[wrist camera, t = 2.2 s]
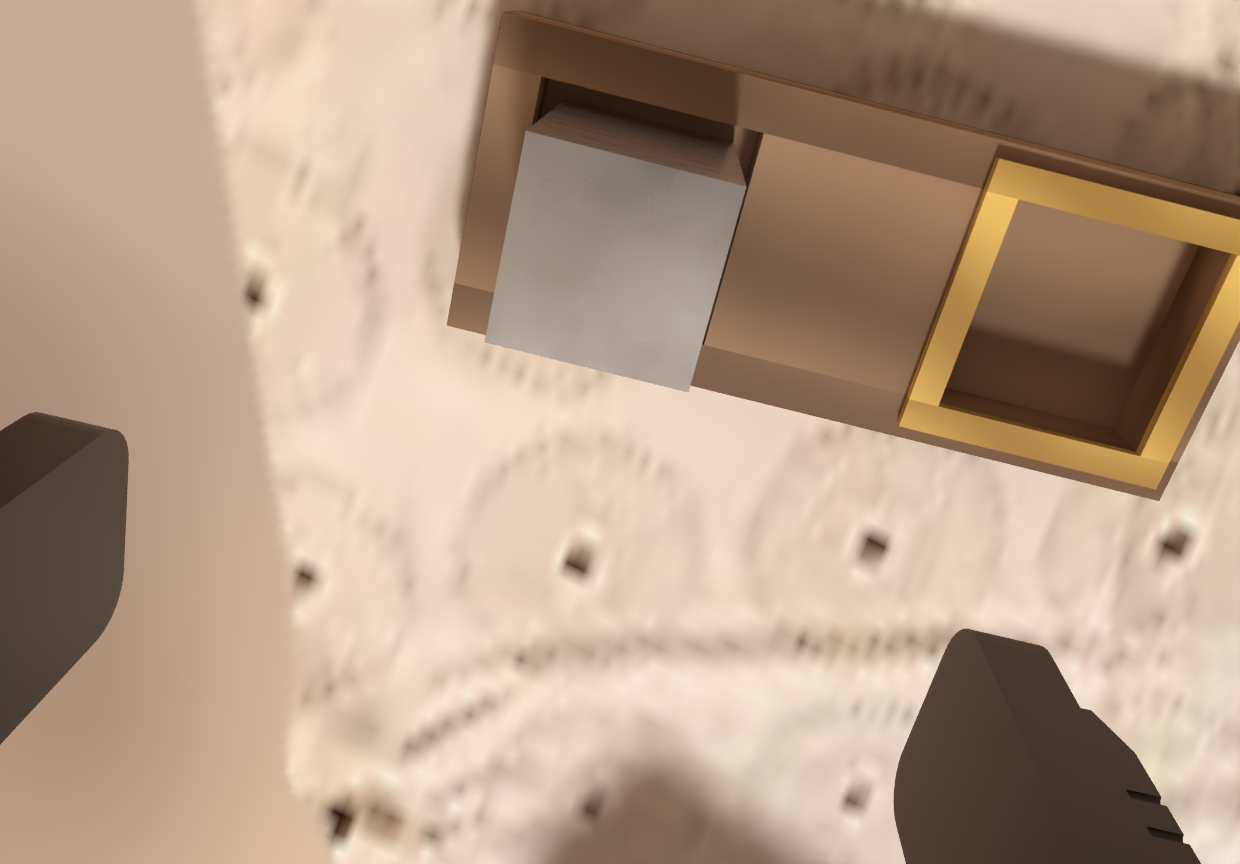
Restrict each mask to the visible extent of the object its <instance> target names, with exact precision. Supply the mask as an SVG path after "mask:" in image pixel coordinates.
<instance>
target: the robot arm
mask: <svg viewBox="0 0 1240 864" xmlns="http://www.w3.org/2000/svg"><path fill="white" fill-rule="evenodd" d="M127 484H128V446H127V443H126V440H125V438H124V436H123V435H122V434H121V433H120V432H119V431H117V430H113V429H109V428H105V427H100V426H96V425H91V424H87V423H83V422H79V421H74V420H70V419H66V418H61V417H57V416H53V415H48V414H44V413H39V412H34V413H30V414H28V415H25V416H24V417H22V418H20V419H19V420H17V421H15V422H14V423H12V424H11V425H9V426H7V427H6V428H4V429H3V430H1V431H0V744H1V743H2V742H3V741H4V740H5V739H6V738H7V737H8V736H9V735H10V733H11V732H12V731H13V730H14V729H15V728H16V727H17V726H18V725H19V724H20V723H21V722H22V721H23V719H24V718H25V717H26V716H27V715H28V714H29V713H30V712H31V711H32V710H33V709H34V708H35V707H36V705H37V704H38V703H39V702H40V701H41V700H42V699H43V698H44V697H45V695H47V694H48V692H49V691H50V690H51V689H52V688H53V687H54V686H55V685H56V684H57V683H58V682H59V681H60V680H61V678H62V677H63V676H64V675H65V674H66V673H67V672H68V671H69V669H71V668H72V667H73V666H74V664H75V663H76V662H77V661H78V660H79V659H80V658H81V657H82V656H83V655H84V654H85V652H86V651H87V650H88V649H89V648H90V647H91V646H92V645H93V644H94V643H95V642H96V640H97V639H98V638H99V637H100V636H101V634H102V632H103V631H104V630H105V628H106V626H107V625H108V623H109V621H110V619H111V617H112V615H113V612H114V610H115V607H116V605H117V602H118V598H119V595H120V591H121V587H122V582H123V573H124V553H125V529H126V507H127ZM1160 800H1161V796H1160V794H1159V792H1158V791H1157V789H1156V787H1155V786H1154V784H1153V782H1152V781H1151V779H1150V777H1149V776H1148V774H1147V772H1146V771H1145V769H1144V767H1143V766H1142V764H1141V762H1140V761H1139V759H1138V757H1137V756H1136V754H1135V752H1133V751H1132V750H1131V749H1130V748H1129V747H1128V746H1127V745H1126V744H1125V743H1124V742H1123V741H1122V740H1121V739H1120V738H1119V737H1118V736H1117V735H1116V734H1115V733H1114V732H1113V731H1112V730H1111V729H1110V728H1109V727H1108V726H1107V725H1106V724H1105V723H1104V722H1102V721H1101V720H1100V719H1099V718H1098V717H1097V716H1096V715H1095V714H1094V713H1093V712H1092V711H1091V710H1086V709H1082V708H1080V707H1079V705H1078V703H1077V701H1076V699H1075V698H1074V696H1073V694H1072V692H1071V690H1070V689H1069V687H1068V685H1067V683H1066V681H1065V680H1064V678H1063V676H1062V674H1061V672H1060V671H1059V669H1058V667H1057V665H1056V663H1055V662H1054V660H1053V658H1052V656H1051V655H1050V653H1049V652H1048V650H1046V649H1045V648H1044V647H1042V646H1040V645H1036V644H1031V643H1027V642H1023V641H1018V640H1014V639H1010V638H1005V637H1001V636H997V635H992V634H988V633H984V632H979V631H975V630H971V629H962V630H960V631H959V632H957V633H956V634H955V635H954V637H953V638H952V639H951V641H950V642H949V644H948V646H947V648H946V650H945V652H944V655H943V657H942V659H941V662H940V664H939V666H938V669H937V671H936V674H935V676H934V678H933V681H932V683H931V685H930V688H929V690H928V693H927V695H926V697H925V700H924V702H923V704H922V707H921V709H920V711H919V714H918V716H917V719H916V721H915V723H914V726H913V728H912V730H911V733H910V735H909V738H908V740H907V742H906V745H905V747H904V749H903V752H902V755H901V757H900V761H899V764H898V769H897V773H896V779H895V787H894V815H895V821H896V826H897V830H898V834H899V838H900V842H901V845H902V849H903V853H904V857H905V861H906V864H1201V863H1200V861H1199V860H1198V858H1197V856H1196V854H1195V853H1194V851H1193V849H1192V848H1191V846H1190V845H1189V844H1184V843H1183V835H1184V834H1183V833H1182V831H1181V829H1180V828H1179V826H1178V824H1177V823H1176V821H1175V819H1174V818H1173V816H1172V814H1171V813H1170V811H1169V809H1168V808H1167V806H1164V805H1161V804H1160Z"/></svg>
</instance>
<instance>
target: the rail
mask: <svg viewBox="0 0 1240 864" xmlns="http://www.w3.org/2000/svg"><path fill="white" fill-rule="evenodd" d="M566 99H567V100H571V101H575V102H579V103H583V104H587V105H591V106H595V107H599V108H603V109H607V110H611V111H614V112H618V113H622V114H626V115H630V116H634V117H638V118H642V119H646V120H650V121H654V122H658V123H662V124H666V125H670V126H673V127H677V128H681V129H685V130H689V131H693V132H697V133H701V134H705V135H709V136H713V137H717V138H721V139H725V140H729V141H732V142H734V144H735V148H736V151H737V155H738V158H739V162H740V165H741V169H742V172H743V176H744V180H745V183H746V190H745V194H744V197H743V201H742V204H741V208H740V212H739V215H738V219H737V222H736V226H735V229H734V233H733V236H732V240H731V243H730V247H729V250H728V254H727V258H726V261H725V265H724V268H723V272H722V275H721V279H720V282H719V286H718V289H717V293H716V296H715V300H714V304H713V307H712V311H711V314H710V318H709V321H708V325H707V328H706V332H705V335H704V339H703V342H702V346H701V350H700V353H699V357H698V360H697V364H696V367H695V371H694V374H693V378H692V381H691V386H695V387H699V388H703V389H707V390H711V391H715V392H719V393H723V394H727V395H731V396H735V397H739V398H743V399H747V400H751V401H756V402H760V403H764V404H768V405H772V406H776V407H780V408H784V409H788V410H792V411H796V412H800V413H804V414H808V415H812V416H816V417H820V418H824V419H829V420H833V421H837V422H841V423H845V424H849V425H853V426H857V427H861V428H865V429H869V430H873V431H877V432H881V433H885V434H889V435H893V436H897V437H902V438H906V439H910V440H914V441H918V442H922V443H926V444H930V445H934V446H938V447H942V448H946V449H950V450H954V451H958V452H962V453H966V454H970V455H975V456H979V457H983V458H987V459H991V460H995V461H999V462H1003V463H1007V464H1011V465H1015V466H1019V467H1023V468H1027V469H1031V470H1035V471H1039V472H1043V473H1047V474H1052V475H1056V476H1060V477H1064V478H1068V479H1072V480H1076V481H1080V482H1084V483H1088V484H1092V485H1096V486H1100V487H1104V488H1108V489H1112V490H1116V491H1120V492H1125V493H1129V494H1133V495H1137V496H1141V497H1145V498H1149V499H1153V500H1157V501H1159V500H1160V498H1161V496H1162V494H1163V492H1164V490H1165V488H1166V486H1167V484H1168V482H1169V480H1170V478H1171V476H1172V474H1173V472H1174V470H1175V468H1176V466H1177V464H1178V462H1179V460H1180V458H1181V456H1182V454H1183V452H1184V450H1185V448H1186V446H1187V444H1188V442H1189V440H1190V438H1191V436H1192V434H1193V432H1194V430H1195V428H1196V426H1197V424H1198V422H1199V420H1200V418H1201V416H1202V414H1203V412H1204V410H1205V408H1206V406H1207V404H1208V402H1209V400H1210V398H1211V396H1212V394H1213V392H1214V390H1215V388H1216V386H1217V384H1218V382H1219V380H1220V378H1221V376H1222V374H1223V372H1224V370H1225V368H1226V366H1227V364H1228V362H1229V360H1230V358H1231V356H1232V354H1233V352H1234V350H1235V348H1236V346H1237V344H1238V342H1239V340H1240V196H1237V195H1233V194H1229V193H1225V192H1221V191H1217V190H1213V189H1209V188H1205V187H1202V186H1198V185H1194V184H1190V183H1186V182H1182V181H1178V180H1174V179H1170V178H1166V177H1163V176H1159V175H1155V174H1151V173H1147V172H1143V171H1139V170H1135V169H1131V168H1127V167H1124V166H1120V165H1116V164H1112V163H1108V162H1104V161H1100V160H1096V159H1092V158H1088V157H1085V156H1081V155H1077V154H1073V153H1069V152H1065V151H1061V150H1057V149H1053V148H1050V147H1046V146H1042V145H1038V144H1034V143H1030V142H1026V141H1022V140H1018V139H1014V138H1011V137H1007V136H1003V135H999V134H995V133H991V132H987V131H983V130H979V129H975V128H972V127H968V126H964V125H960V124H956V123H952V122H948V121H944V120H940V119H937V118H933V117H929V116H925V115H921V114H917V113H913V112H909V111H905V110H901V109H898V108H894V107H890V106H886V105H882V104H878V103H874V102H870V101H866V100H862V99H859V98H855V97H851V96H847V95H843V94H839V93H835V92H831V91H827V90H824V89H820V88H816V87H812V86H808V85H804V84H800V83H796V82H792V81H788V80H785V79H781V78H777V77H773V76H769V75H765V74H761V73H757V72H753V71H749V70H746V69H742V68H738V67H734V66H730V65H726V64H722V63H718V62H714V61H710V60H707V59H703V58H699V57H695V56H691V55H687V54H683V53H679V52H675V51H672V50H668V49H664V48H660V47H656V46H652V45H648V44H644V43H640V42H636V41H633V40H629V39H625V38H621V37H617V36H613V35H609V34H605V33H601V32H597V31H594V30H590V29H586V28H582V27H578V26H574V25H570V24H566V23H562V22H559V21H555V20H551V19H547V18H543V17H539V16H535V15H531V14H527V13H523V12H520V11H512V12H502V17H501V22H500V28H499V34H498V39H497V45H496V51H495V56H494V62H493V67H492V73H491V79H490V84H489V90H488V96H487V101H486V107H485V113H484V118H483V124H482V130H481V135H480V141H479V146H478V152H477V158H476V163H475V169H474V175H473V180H472V186H471V192H470V197H469V203H468V209H467V214H466V220H465V226H464V231H463V237H462V242H461V248H460V254H459V259H458V265H457V271H456V276H455V282H454V288H453V293H452V299H451V305H450V310H449V316H448V322H447V326H451V327H455V328H459V329H464V330H468V331H472V332H476V333H480V334H484V335H486V333H487V328H488V323H489V317H490V312H491V307H492V302H493V297H494V292H495V286H496V281H497V276H498V271H499V266H500V261H501V255H502V250H503V245H504V240H505V235H506V230H507V224H508V219H509V214H510V209H511V204H512V199H513V194H514V188H515V183H516V178H517V173H518V168H519V163H520V157H521V152H522V147H523V142H524V137H525V132H526V130H527V129H529V128H530V127H531V126H532V125H534V124H535V123H536V122H538V121H539V120H540V119H541V118H543V117H544V116H545V115H546V114H548V113H549V112H550V111H552V110H553V109H554V108H555V107H557V106H558V105H559V104H560V103H562V102H563V101H564V100H566Z"/></svg>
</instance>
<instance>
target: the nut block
mask: <svg viewBox="0 0 1240 864" xmlns="http://www.w3.org/2000/svg"><path fill="white" fill-rule="evenodd" d="M745 190H746V183H745V180H744V176H743V172H742V169H741V165H740V162H739V158H738V155H737V151H736V148H735V144H734V142H732V141H729V140H725V139H721V138H717V137H713V136H709V135H705V134H701V133H697V132H693V131H689V130H685V129H681V128H677V127H673V126H670V125H666V124H662V123H658V122H654V121H650V120H646V119H642V118H638V117H634V116H630V115H626V114H622V113H618V112H614V111H611V110H607V109H603V108H599V107H595V106H591V105H587V104H583V103H579V102H575V101H571V100H567V99H566V100H564V101H563V102H562V103H560V104H559V105H558V106H557V107H555V108H554V109H553V110H552V111H550V112H549V113H548V114H546V115H545V116H544V117H543V118H541V119H540V120H539V121H538V122H536V123H535V124H534V125H532V126H531V127H530V128H529V129H527V130H526V132H525V137H524V142H523V147H522V152H521V157H520V163H519V168H518V173H517V178H516V183H515V188H514V194H513V199H512V204H511V209H510V214H509V219H508V224H507V230H506V235H505V240H504V245H503V250H502V255H501V261H500V266H499V271H498V276H497V281H496V286H495V292H494V297H493V302H492V307H491V312H490V317H489V323H488V328H487V333H486V338H485V342H486V343H490V344H494V345H498V346H502V347H506V348H510V349H515V350H519V351H523V352H527V353H531V354H535V355H539V356H543V357H547V358H551V359H555V360H559V361H563V362H567V363H571V364H575V365H579V366H584V367H588V368H592V369H596V370H600V371H604V372H608V373H612V374H616V375H620V376H624V377H628V378H632V379H636V380H640V381H644V382H648V383H653V384H657V385H661V386H665V387H669V388H673V389H677V390H681V391H685V392H689V388H690V385H691V381H692V378H693V374H694V371H695V367H696V364H697V360H698V357H699V353H700V350H701V346H702V342H703V339H704V335H705V332H706V328H707V325H708V321H709V318H710V314H711V311H712V307H713V304H714V300H715V296H716V293H717V289H718V286H719V282H720V279H721V275H722V272H723V268H724V265H725V261H726V258H727V254H728V250H729V247H730V243H731V240H732V236H733V233H734V229H735V226H736V222H737V219H738V215H739V212H740V208H741V204H742V201H743V197H744V194H745Z"/></svg>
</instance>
